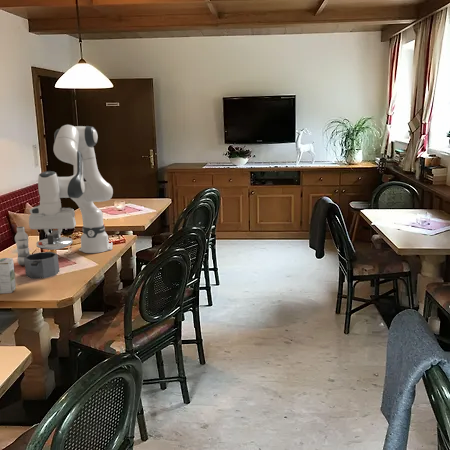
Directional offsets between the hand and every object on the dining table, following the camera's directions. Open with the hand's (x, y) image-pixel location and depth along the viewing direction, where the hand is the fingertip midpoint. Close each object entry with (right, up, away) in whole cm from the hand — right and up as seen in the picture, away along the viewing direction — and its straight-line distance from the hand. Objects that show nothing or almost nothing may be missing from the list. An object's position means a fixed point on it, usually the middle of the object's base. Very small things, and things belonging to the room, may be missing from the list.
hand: (54, 238), depth 231 cm
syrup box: (-18, -23, -7) cm, 30 cm away
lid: (0, -4, +1) cm, 4 cm away
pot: (-11, -18, +17) cm, 27 cm away
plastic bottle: (-26, -15, +32) cm, 44 cm away
